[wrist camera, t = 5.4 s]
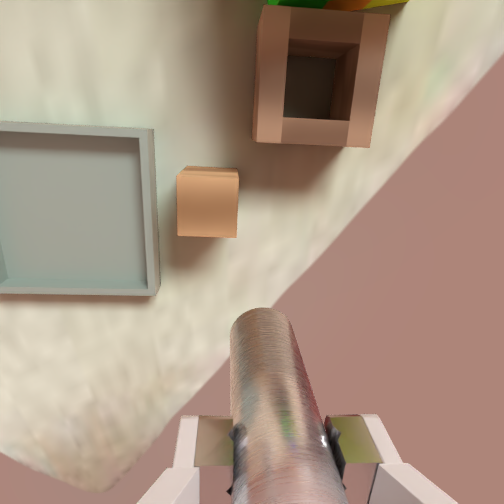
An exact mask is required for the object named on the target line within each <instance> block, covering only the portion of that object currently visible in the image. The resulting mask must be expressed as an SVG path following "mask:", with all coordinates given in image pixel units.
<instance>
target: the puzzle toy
mask: <svg viewBox="0 0 504 504" xmlns="http://www.w3.org/2000/svg"><path fill="white" fill-rule="evenodd" d="M408 1H409V0H267V2H268V5H278V6H290V7H302V8H315V9H327V10H339V11H354V10H360V9H366V8H372V7H379V6H385V5H391V4H397V3H403V2H408Z"/></svg>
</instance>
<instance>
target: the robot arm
mask: <svg viewBox="0 0 504 504" xmlns="http://www.w3.org/2000/svg"><path fill="white" fill-rule="evenodd" d="M324 427H325V430H326V434H327V437H328V440H329V443H330V447H331V450H332V453H333V456H334V459H335V462H336V465H337V468H338V472H339V475H340V478H341V481H342V484H343V487H344V490H345V494H346V497H347V500H348V503H349V504H458V503H457V502H456V501H455V500H453V499H452V498H451V497H450V496H448V495H447V494H446V493H444V492H443V491H442V490H441V489H440V488H438V487H437V486H436V485H435V484H433V483H432V482H431V481H430V480H428V479H427V478H426V477H425V476H423V475H422V474H421V473H420V472H418V471H417V470H416V469H415V468H413V467H412V466H411V465H410V464H408V463H403V462H402V460H401V458H400V456H399V455H398V452H397V450H396V449H395V447H394V445H393V443H392V441H391V439H390V437H389V435H388V433H387V431H386V430H385V427H384V426H383V424H382V422H381V420H380V418H379V416H377V415H376V414H360V415H358V414H352V415H327V416H326V418H325V422H324ZM233 466H234V464H233V416H202V415H200V416H183V415H182V417H181V419H180V423H179V429H178V435H177V442H176V447H175V453H174V460H173V465H172V468H166V469H165V470H164V472H163V473H162V474H161V475H160V476H159V478H158V479H157V480H156V481H155V483H153V485H152V486H151V487H150V488H149V489H148V490H147V492H146V493H145V494H144V495H143V496H142V497H141V499H140V500H139V501H138V502H137V503H136V504H231V486H232V485H233Z"/></svg>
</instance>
